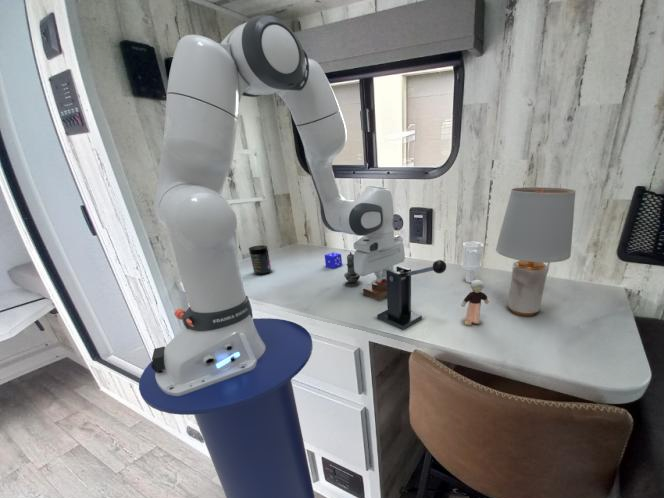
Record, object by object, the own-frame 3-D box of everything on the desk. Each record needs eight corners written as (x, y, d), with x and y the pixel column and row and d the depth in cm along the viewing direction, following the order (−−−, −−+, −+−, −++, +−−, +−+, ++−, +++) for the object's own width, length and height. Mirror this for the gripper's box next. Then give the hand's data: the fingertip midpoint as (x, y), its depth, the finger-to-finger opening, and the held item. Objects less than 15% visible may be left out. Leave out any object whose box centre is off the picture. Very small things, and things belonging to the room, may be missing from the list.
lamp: (482, 296, 101) (495, 187, 86) (541, 297, 100) (563, 186, 86) (497, 325, 83) (516, 194, 69) (568, 326, 83) (602, 193, 68)
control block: (379, 300, 99) (379, 289, 97) (363, 294, 104) (362, 283, 102) (400, 291, 105) (400, 280, 104) (383, 285, 110) (383, 275, 109)
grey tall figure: (352, 279, 116) (350, 248, 111) (364, 282, 113) (362, 251, 108) (341, 284, 112) (338, 252, 107) (353, 287, 109) (350, 255, 104)
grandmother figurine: (466, 328, 82) (470, 284, 77) (458, 322, 85) (461, 279, 80) (489, 322, 85) (494, 279, 80) (480, 316, 88) (485, 275, 83)
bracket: (421, 319, 87) (422, 269, 81) (403, 330, 82) (402, 278, 75) (395, 308, 93) (395, 262, 87) (377, 318, 88) (374, 269, 82)
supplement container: (269, 275, 121) (264, 249, 117) (252, 276, 121) (246, 250, 116) (274, 269, 128) (269, 245, 123) (257, 270, 127) (251, 245, 122)
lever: (450, 270, 72) (446, 257, 71) (442, 273, 70) (438, 260, 69) (401, 280, 84) (397, 269, 84) (393, 284, 82) (389, 272, 82)
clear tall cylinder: (467, 285, 109) (471, 244, 103) (456, 279, 115) (459, 239, 109) (483, 282, 112) (488, 242, 106) (471, 276, 118) (475, 237, 112)
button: (381, 288, 101) (381, 284, 100) (374, 286, 103) (373, 281, 103) (389, 285, 104) (389, 280, 103) (381, 283, 106) (381, 278, 105)
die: (325, 266, 131) (324, 255, 128) (334, 263, 134) (333, 252, 132) (333, 268, 128) (332, 257, 126) (342, 265, 132) (341, 254, 130)
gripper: (395, 233, 106) (395, 270, 112) (349, 245, 92) (352, 287, 98) (409, 235, 102) (409, 274, 108) (363, 248, 88) (365, 292, 94)
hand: (381, 280), depth 103 cm, fingers closed, pressing on button
